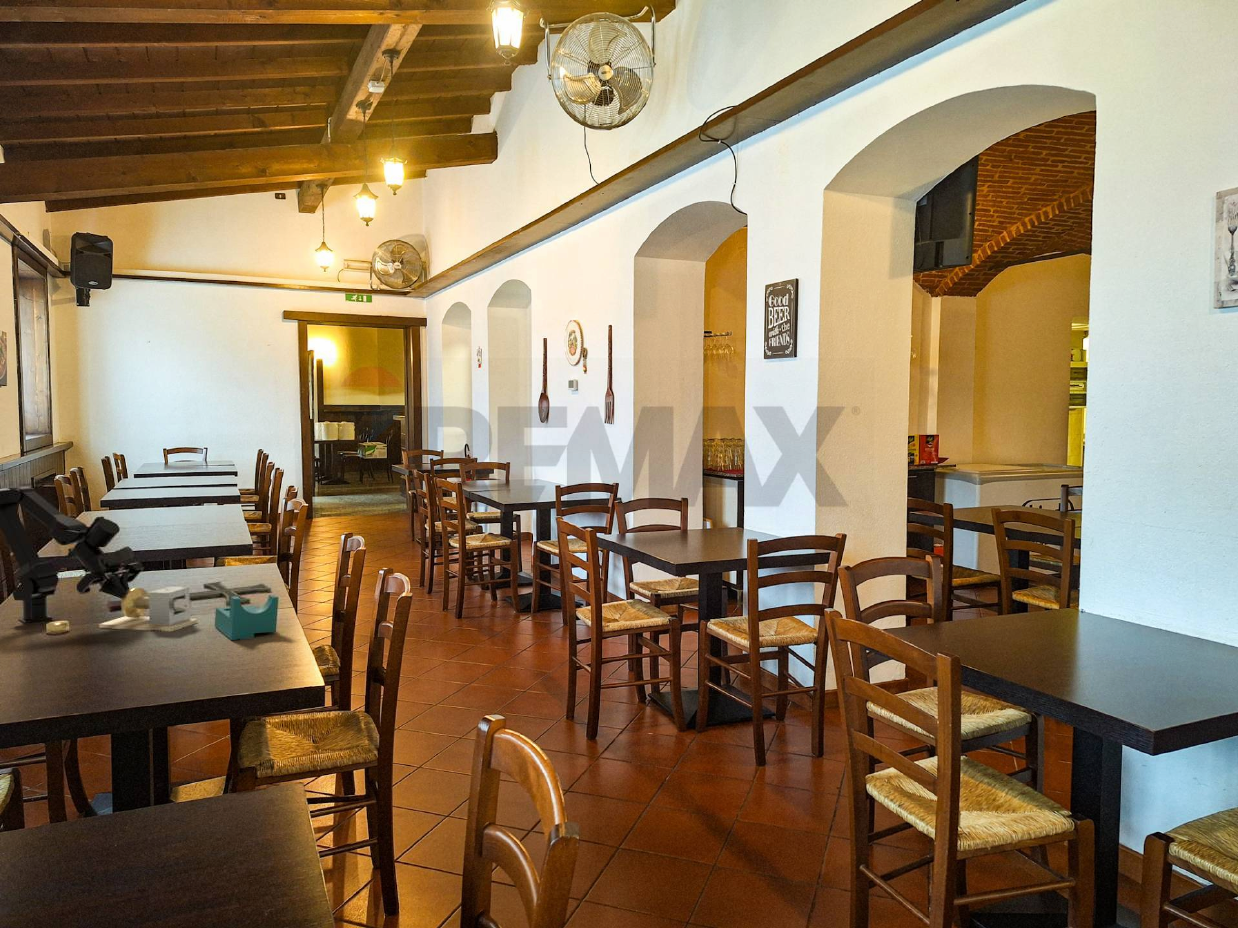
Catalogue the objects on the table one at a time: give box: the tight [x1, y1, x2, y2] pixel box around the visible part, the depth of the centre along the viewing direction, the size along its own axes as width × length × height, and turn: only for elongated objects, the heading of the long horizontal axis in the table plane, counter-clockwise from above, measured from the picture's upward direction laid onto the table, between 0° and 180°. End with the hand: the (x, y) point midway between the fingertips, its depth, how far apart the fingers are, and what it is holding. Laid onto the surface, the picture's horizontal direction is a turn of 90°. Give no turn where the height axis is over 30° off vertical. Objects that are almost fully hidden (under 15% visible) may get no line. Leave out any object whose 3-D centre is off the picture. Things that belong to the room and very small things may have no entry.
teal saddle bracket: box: [214, 594, 280, 641], centre depth 223 cm, size 18×11×10 cm, turn 38°
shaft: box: [121, 587, 193, 618], centre depth 228 cm, size 17×8×8 cm, turn 80°
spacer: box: [45, 620, 70, 635], centre depth 222 cm, size 5×5×2 cm
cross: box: [106, 580, 272, 612], centre depth 262 cm, size 35×2×45 cm
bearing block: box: [148, 586, 191, 627], centre depth 227 cm, size 6×8×9 cm
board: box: [98, 615, 198, 632], centre depth 229 cm, size 22×10×1 cm, turn 80°
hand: (130, 599), depth 229 cm, fingers closed
